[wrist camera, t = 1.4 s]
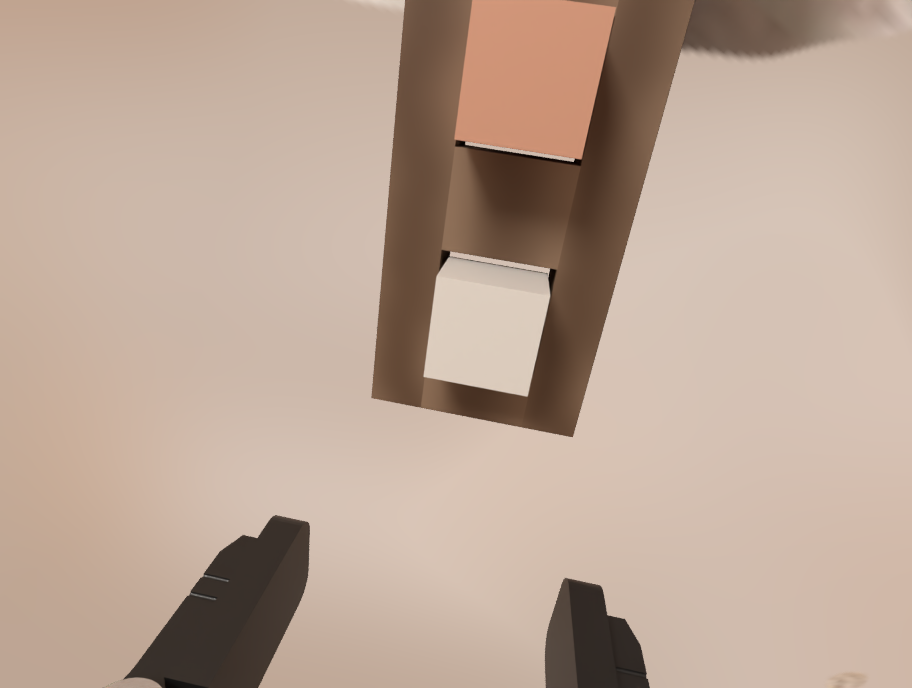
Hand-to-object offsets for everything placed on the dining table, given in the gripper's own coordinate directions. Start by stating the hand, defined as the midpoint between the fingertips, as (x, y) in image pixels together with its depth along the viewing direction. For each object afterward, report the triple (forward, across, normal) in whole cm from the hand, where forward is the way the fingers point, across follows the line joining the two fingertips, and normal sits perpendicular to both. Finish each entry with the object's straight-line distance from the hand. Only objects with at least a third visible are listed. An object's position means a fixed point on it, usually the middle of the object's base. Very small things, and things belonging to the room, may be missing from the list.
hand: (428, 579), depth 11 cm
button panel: (+22, 0, -6) cm, 22 cm away
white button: (+18, 0, 0) cm, 18 cm away
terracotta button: (+18, 0, -11) cm, 22 cm away
